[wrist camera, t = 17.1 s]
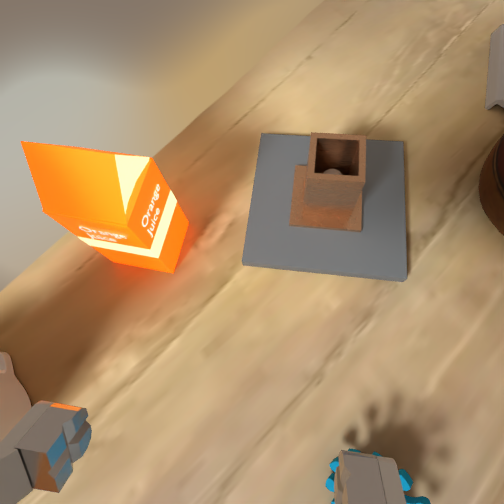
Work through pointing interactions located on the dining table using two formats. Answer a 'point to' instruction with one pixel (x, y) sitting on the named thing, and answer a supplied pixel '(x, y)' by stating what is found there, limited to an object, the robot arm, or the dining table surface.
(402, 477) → the gear
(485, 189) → the ceramic pitcher
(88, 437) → the robot arm
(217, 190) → the dining table surface
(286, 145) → the base plate
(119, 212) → the orange juice
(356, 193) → the copper sleeve
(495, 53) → the half-moon napkin holder
